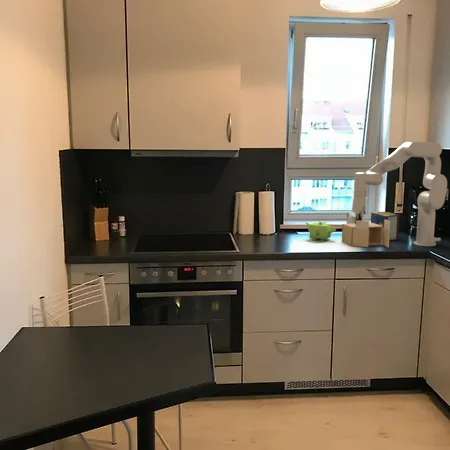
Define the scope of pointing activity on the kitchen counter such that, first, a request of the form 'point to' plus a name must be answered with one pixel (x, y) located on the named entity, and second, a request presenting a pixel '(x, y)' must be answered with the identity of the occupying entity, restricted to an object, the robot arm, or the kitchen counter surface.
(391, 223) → the protein box
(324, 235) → the kettle
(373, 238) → the carton
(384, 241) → the flap
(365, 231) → the flap
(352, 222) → the snack box
